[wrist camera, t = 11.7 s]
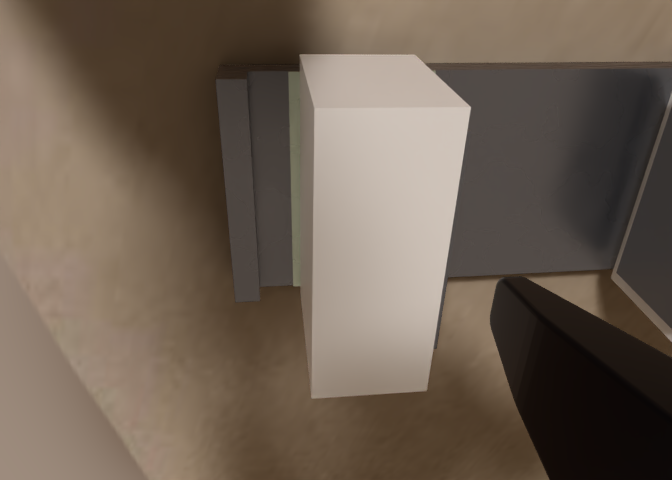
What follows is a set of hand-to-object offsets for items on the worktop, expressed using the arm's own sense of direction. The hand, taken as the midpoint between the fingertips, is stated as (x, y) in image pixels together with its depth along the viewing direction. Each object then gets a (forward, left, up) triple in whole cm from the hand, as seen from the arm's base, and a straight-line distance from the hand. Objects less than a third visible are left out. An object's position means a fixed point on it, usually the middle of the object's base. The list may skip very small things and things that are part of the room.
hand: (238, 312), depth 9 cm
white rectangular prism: (+3, +4, -12) cm, 13 cm away
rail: (+3, +11, -13) cm, 17 cm away
